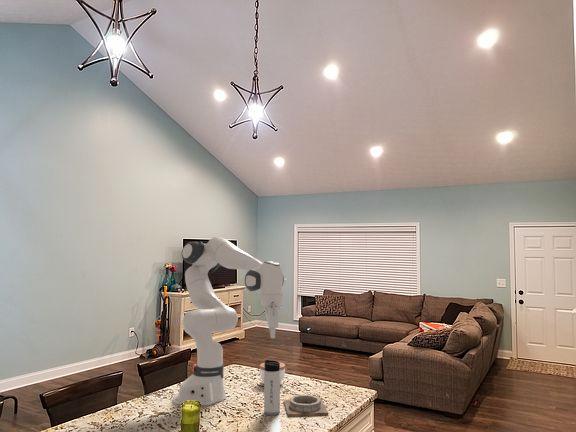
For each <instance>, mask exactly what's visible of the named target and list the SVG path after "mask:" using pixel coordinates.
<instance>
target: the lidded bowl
mask: <svg viewBox="0 0 576 432" xmlns="http://www.w3.org/2000/svg"><path fill="white" fill-rule="evenodd" d="M278 362H279V363H280V384H281V383H282V382H283V380H284V378H285V374H286V364H285V363H284V362H280V361H278ZM264 370H265V362H262V363H260V364H259V374H260V375H259V376H260V379H261V381H262V382H263V383H264V372H265V371H264Z"/></svg>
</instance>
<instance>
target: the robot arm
mask: <svg viewBox="0 0 576 432" xmlns="http://www.w3.org/2000/svg"><path fill="white" fill-rule="evenodd" d="M182 247H183V248H182V251H181V258H182V260H183V261H184V262H186V263H188V265H191V266H189V267H188V268H187V269H186V270H185V273H184V276H185V277H184V278H185V279H184V280H185V285H186V286H185V287H186V289H187V292H188V295H189V299H190V302H191V303H192V305H193V306H194V307H195V308H196V309H193V310H190V311H187V312H186V313H184V315H183V317H182V321H181V322H182V328H183V330H184V332H185V333H186V334H187V335H189V336H190V337H191V338H192V339H193V341H194V343H195V346H196V352H197V353H196V354H197V358H196V359H197V361H196V362H197V364H196V363H194V364H193V365H192V374H191V375H189V377H187V378H186V379H185V380H183V381H182V382H181V384H180V386H179V389H178V392H177V393H176V394H175V395H174V396H173V399H172V401H173V404H174V405H182V404H181V403H182V402H183V401H187V400H196V401H199V402H200V404H201V405H200V406H211V405H213V404H214V403H219V402H221V401H224V400H225V399H226V398H227V395H226V391H225V386H224V376H225V367H224V361H223V358H224V357H223V356H224V348H223V346H222V344H221V343H220V342H218V341H216V340H214V339H213V334H215V333H222V332H227V331H231V330H233V329H235V328H236V326H237V325H238V321H239V317H238V316H239V315H238V313H237V311H236V310H235V309H234V308H232V307H230V306H229V305H227V304H225V303H224V302H223V301H222V300H221V299H220V298H219V297H218V296H217V295H216V293H215V291H214V288H213V287H212V286H213V285H212V283H211V281H210V279H209V275H208V274H212V273H214V272H215V271H217V270H218V269H219V268H220V267H223V268H226V269H228V270H241V271H244V270H245V271H247V272H246V274H245V276H244V285H245V288H246V289H247V290H248V291H250V292H252V293H256V292H257V293H261V294H260V295H261V299H260V300H261V301H260V302H261V303H260V304H261V307H264V308H263V309H264V311H265V313H264V314H265V318H266V319H265V320H266V323H267V324H268V333H269V334H270V338H271V339H276V329H277V328H279V310H281V309H280V308H281V306H284V296H283V295H284V294H283V293H284V292H283V286H284V282H285V276H284V274H283V268H282V265H281V263H280V262H278V261H272V260H267V261H266V260H265V261H261V260H260V259H258V258H256V257H255V256H252V255H251V254H249V253H247V252H245V251H244V250H242V249H241V248H239V247H238V246H237V245H235V243H232V242H231V241H230V240H228V239H226V238H224V237H222V236H219V235H218V236H217V235H216V236H213V237H212V238H210V239H209V240H208V242H207V243H203V241H189V242H187V243H185V244H184V246H182Z"/></svg>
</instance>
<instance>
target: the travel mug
mask: <svg viewBox="0 0 576 432" xmlns="http://www.w3.org/2000/svg"><path fill="white" fill-rule="evenodd" d="M279 362H280V361H277V360H273V359H272V360H270V359H265V360H264V363H265V370H264V371H265V372H264V382H263V383H264V385H263V387H264V388H263V389H264V390H263V391H264V392H263V395H264V396H263V397H264V398H263V399H264V400H263V406H264V407H263V409H264V410H263V412H264V414H265V415H266V416H277V415H279V414H280V413H281V383H280V363H279Z"/></svg>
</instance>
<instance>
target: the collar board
mask: <svg viewBox="0 0 576 432" xmlns="http://www.w3.org/2000/svg"><path fill="white" fill-rule="evenodd" d="M283 405H284V407H285V410H286V415H287V417H289V418H291V417H292V418H293V417H311V416H312V417H316V416H317V417H318V416H329V411H328V410H327V407H326V406H325V403H324V402H323V400H322V399H321V398H320V397H318V396H315V395H312V394H297V395H294V396H292V397H290V398H289V399H284V400H283Z"/></svg>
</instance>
